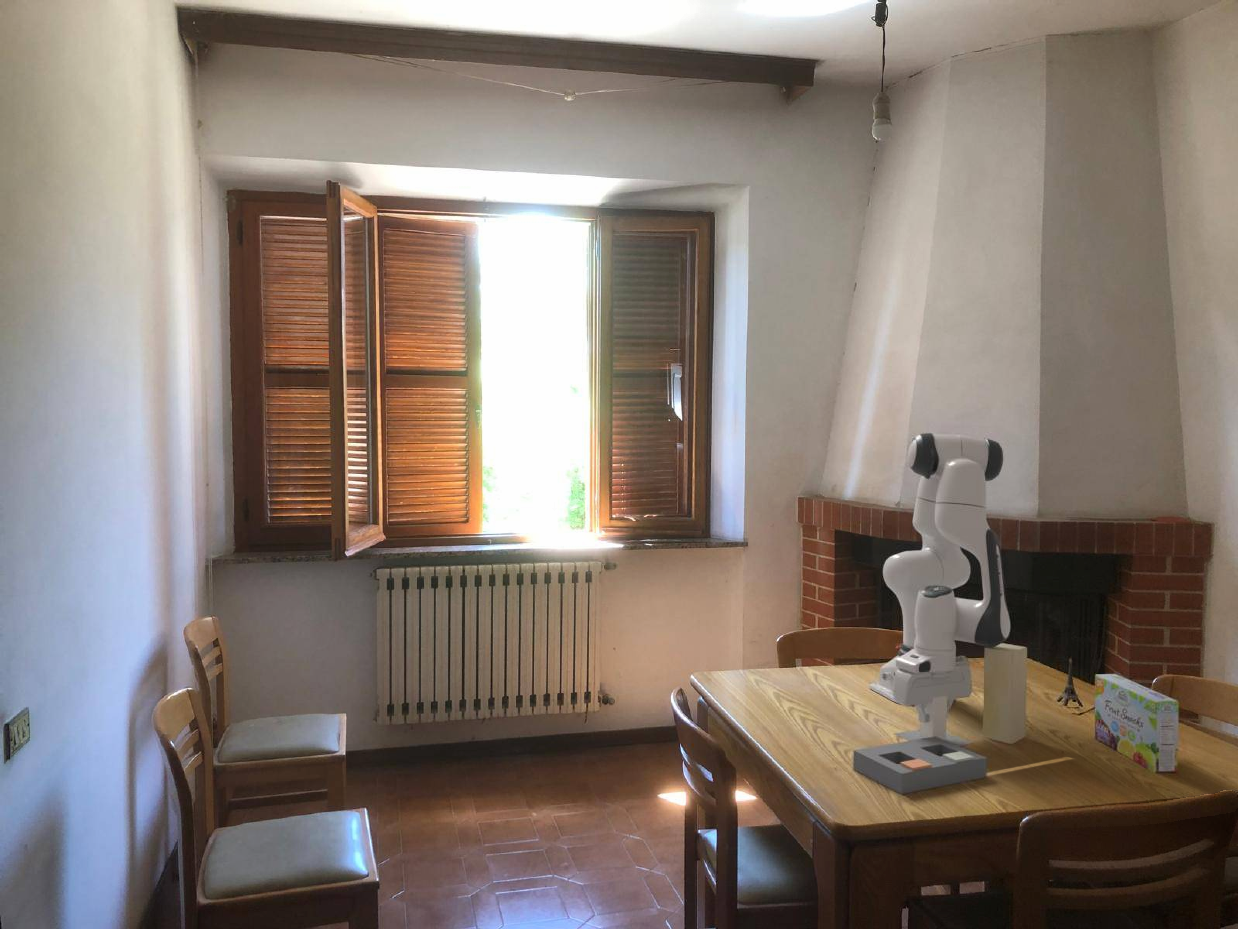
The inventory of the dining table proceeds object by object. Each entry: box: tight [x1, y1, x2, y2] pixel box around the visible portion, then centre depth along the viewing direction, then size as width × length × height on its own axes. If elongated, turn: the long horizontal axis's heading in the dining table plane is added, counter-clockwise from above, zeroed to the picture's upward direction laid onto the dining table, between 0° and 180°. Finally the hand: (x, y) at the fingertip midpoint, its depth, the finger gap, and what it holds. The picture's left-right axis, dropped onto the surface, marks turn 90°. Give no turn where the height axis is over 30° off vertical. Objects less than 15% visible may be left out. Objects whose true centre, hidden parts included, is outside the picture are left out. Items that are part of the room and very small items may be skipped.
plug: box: [919, 695, 948, 740], centre depth 205 cm, size 4×4×10 cm
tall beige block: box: [982, 642, 1028, 745], centre depth 207 cm, size 8×7×21 cm
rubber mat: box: [894, 728, 974, 747], centre depth 205 cm, size 12×12×1 cm
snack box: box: [1094, 673, 1180, 774], centre depth 197 cm, size 21×6×15 cm, turn 5°
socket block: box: [852, 736, 988, 795], centre depth 185 cm, size 14×22×4 cm, turn 115°
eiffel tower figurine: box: [1054, 658, 1093, 707], centre depth 234 cm, size 15×10×13 cm
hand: (933, 720), depth 205 cm, fingers closed on plug, 4 cm apart
